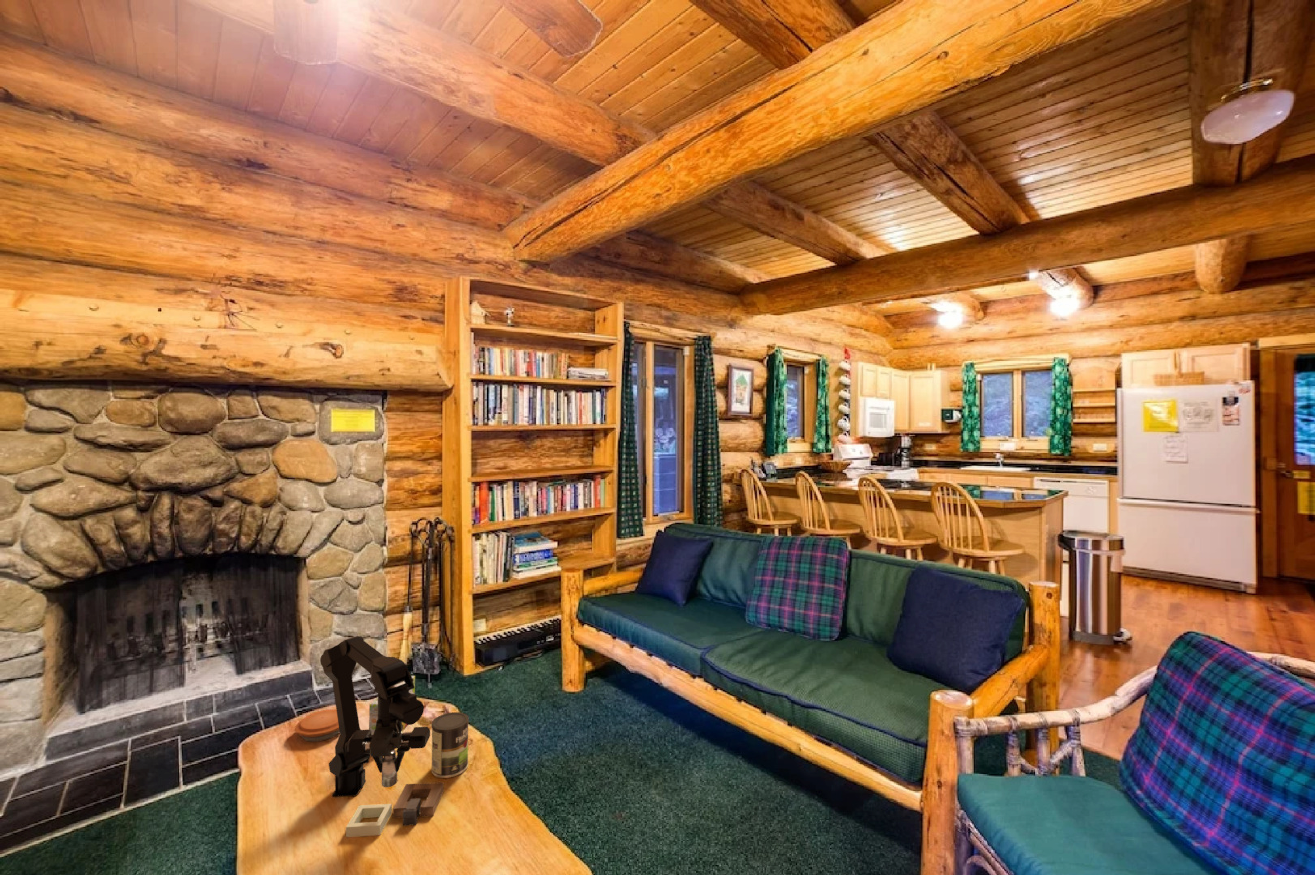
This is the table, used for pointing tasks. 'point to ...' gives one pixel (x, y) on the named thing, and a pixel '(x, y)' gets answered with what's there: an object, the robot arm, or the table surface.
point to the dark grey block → (412, 812)
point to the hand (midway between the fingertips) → (389, 771)
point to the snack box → (374, 709)
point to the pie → (318, 726)
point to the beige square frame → (369, 828)
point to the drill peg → (389, 770)
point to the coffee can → (449, 744)
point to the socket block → (419, 791)
